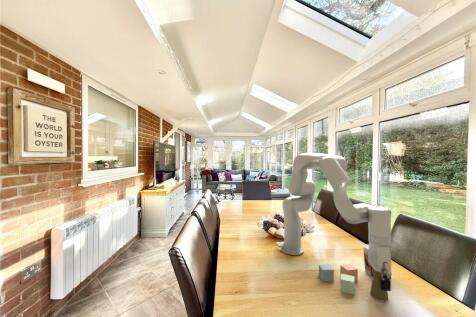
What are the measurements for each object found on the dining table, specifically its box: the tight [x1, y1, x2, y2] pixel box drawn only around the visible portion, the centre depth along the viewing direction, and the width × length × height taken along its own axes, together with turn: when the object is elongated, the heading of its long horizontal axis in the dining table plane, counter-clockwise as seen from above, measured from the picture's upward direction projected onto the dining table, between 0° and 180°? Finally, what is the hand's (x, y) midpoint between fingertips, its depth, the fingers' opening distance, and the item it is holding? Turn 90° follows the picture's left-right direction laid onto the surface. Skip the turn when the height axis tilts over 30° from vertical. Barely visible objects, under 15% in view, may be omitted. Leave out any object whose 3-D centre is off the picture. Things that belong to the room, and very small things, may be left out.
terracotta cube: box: [339, 263, 359, 282], centre depth 102 cm, size 5×5×5 cm
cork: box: [369, 268, 389, 302], centre depth 89 cm, size 6×6×11 cm
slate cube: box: [318, 263, 335, 282], centre depth 102 cm, size 5×5×5 cm
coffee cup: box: [362, 243, 372, 277], centre depth 106 cm, size 9×9×12 cm
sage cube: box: [340, 274, 355, 295], centre depth 93 cm, size 5×5×5 cm
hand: (380, 283), depth 88 cm, fingers open, 9 cm apart
